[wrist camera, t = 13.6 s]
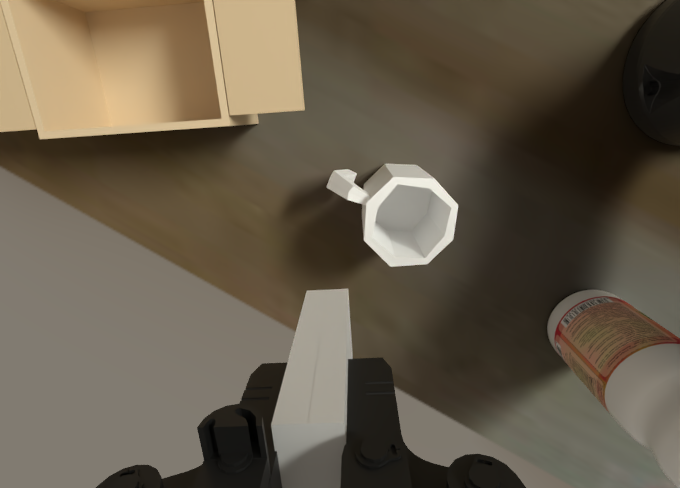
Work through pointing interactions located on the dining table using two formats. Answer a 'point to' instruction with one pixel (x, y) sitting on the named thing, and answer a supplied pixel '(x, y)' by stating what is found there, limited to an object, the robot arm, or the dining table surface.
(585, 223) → the dining table surface
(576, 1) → the dining table surface
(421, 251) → the mug
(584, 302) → the fruit juice
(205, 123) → the carton
